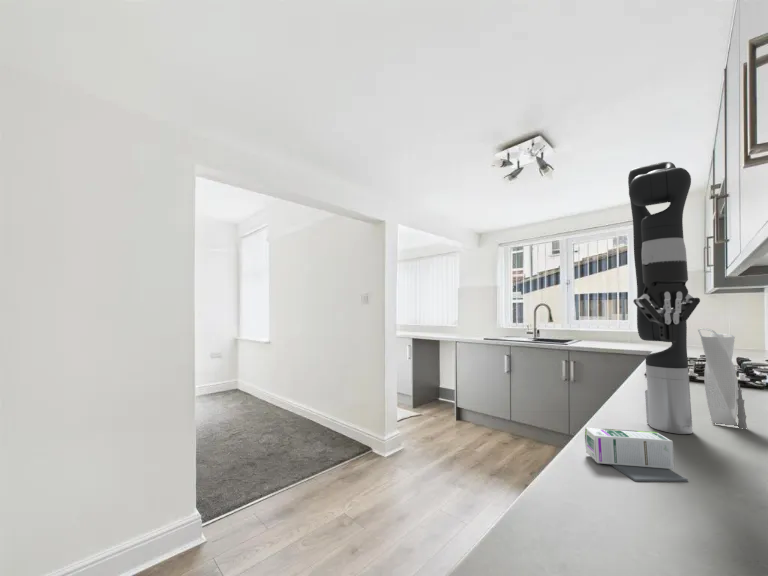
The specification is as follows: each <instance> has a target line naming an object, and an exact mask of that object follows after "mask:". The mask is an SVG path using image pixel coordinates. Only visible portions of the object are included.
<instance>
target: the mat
mask: <svg viewBox="0 0 768 576" xmlns="http://www.w3.org/2000/svg"><path fill="white" fill-rule="evenodd" d="M609 465H610V466H611V467H613V468H614V469H616V470H617V471H619V472H620V473H622V474H623V475H625V476H627V478H629V479H631V480H633V481H634V482H676V483H677V482H685V483H686V482H688V481H689V480H688V478H686V477H684V476H682V475H681V474H679V473H677V472H675V471H672V469H663V468H651V467H638V466H626V465H614V464H609Z"/></svg>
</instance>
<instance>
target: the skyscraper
mask: <svg viewBox="0 0 768 576" xmlns="http://www.w3.org/2000/svg"><path fill="white" fill-rule="evenodd" d="M701 330H702V331H708V332H709V331H710V332H711V333H709V334H710V335H708V336H707V335H702V333H701ZM697 332H698V334H699V337H700V340H701V344H702V349H703V353H704V357H705V365H704V373H703V374H704V391H705V397H706V403H707V408H708V412H709V420H710V419H711V421H712V422H711V421H710V422H711V424H712V425H713V426H715V423H716V424H725V425H734V426H738V427H739V428H743V429H746V428H747V429H748V426H747V415H746V410H745V399H743V394H742V393H743V392H742V389H741V383H738V377H737V376H738V375H737V372H736V369H735V366H734V363H733V360H732V359H733V356H734V355H733V354H734V348H735V345H734V344H735V337H736V336H735V335H733V334H729V333H717V332H716V331H715V330H713V329H711V328H705V327H701V328H698V329H697ZM736 421H737V422H736ZM737 423H738V425H737Z"/></svg>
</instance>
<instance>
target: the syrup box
mask: <svg viewBox="0 0 768 576" xmlns="http://www.w3.org/2000/svg"><path fill="white" fill-rule="evenodd" d="M584 444H585V445H584V446H585V453H586V454H588V455H589V456H590V458H591V459H592V460H593V461H594V462H595V463H596V464H604V465H610V464H614V465H626V466H638V467H651V468H663V469H669V470H674V469H675V456H674V453H675V452H674V442H673V440H672V439H669V438H668V437H666V436H664V435H662V434H661V433H659V432H657V431H646V430H644V431H643V430H632V429H630V430H629V429H614V428H612V429H611V428H600V427H599V428H597V427H595V428H594V427H585V429H584Z"/></svg>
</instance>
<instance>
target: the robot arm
mask: <svg viewBox="0 0 768 576" xmlns="http://www.w3.org/2000/svg"><path fill="white" fill-rule="evenodd" d="M627 182H628V186H627V187H628V197H629V199H630V200H629V202H630V208H631V217H632V226H633V227H632V229H633V230H632V231H633V232H632V233H633V238H632V239H633V258H634V260H633V261H634V268H635V279H636V280H635V281H636V298H634V299H633V304H634V305H635V306H636V326H637V327H636V328H637V329H636V330H637V333H638V336H639V338H640V339H641V340H642V341H645V342H646V341H647V342H649V341H650V342H663V343H671V345H670V346H669V347H668V348H666V349H664V350H661V351H657V352H652V353H649V354H646V355H645V374H646V388H647V389H645V391H644V396H645V398H644V399H645V411H646V412H645V413H646V424H648V425H649V426H650V427H651V428H652V429H655V430H658V431H660V432H661V431H662V432H666V433H669V434H670V433H671V434H677V435H678V434H679V435H690V434H693V432H694V431H693V420H692V419H693V418H692V417H693V416H692V402H691V389H690V388H691V387H690V375H689V374H690V373H689V363H688V361H689V359H688V349H687V348H688V345H687V343H688V342H687V337H688V335H687V331H688V329H687V328H688V327H687V320H688V319H689V318H690V317H691V315H692V314H693V312H694V311H695V309H696V308H697V307H698V305H699V304H700V302H701V299H700V298H699V297H693V295H690V294H689V289H688V288H687V285H686V283H687V282H689V281H688V280H689V276H688V275H689V273H688V272H689V271H688V259H687V249H686V245H685V244H686V243H685V239H684V224H683V218H684V217H683V216H684V209H685V205H686V201H687V198H688V195H689V192H690V188H691V184H692V176H691V174H690V173H689V172H688V170H686V169H685V168H684V167H676V165H675V164H674V163H673V162H672V161H661V162H657V163H652V164H648V165H644V166H639V167H636V168H632V169H631V170H630V171H629V173H628V181H627ZM666 203H669V205H668V207H667V208H665V209H664V210H661V211H658V212H654V213H651V212H650V211H649V210H648V208H647V207H649V206H654V205H660V204H666Z"/></svg>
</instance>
